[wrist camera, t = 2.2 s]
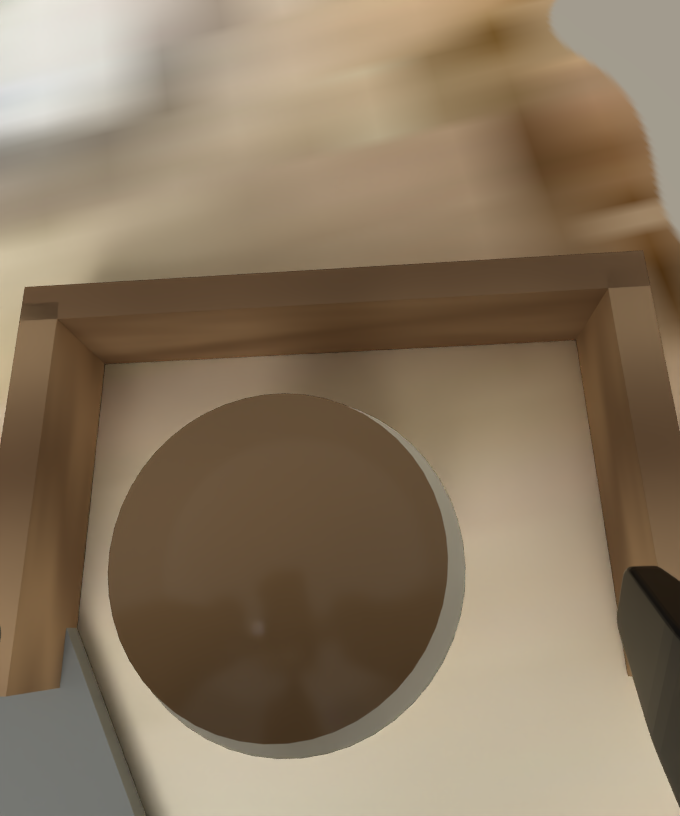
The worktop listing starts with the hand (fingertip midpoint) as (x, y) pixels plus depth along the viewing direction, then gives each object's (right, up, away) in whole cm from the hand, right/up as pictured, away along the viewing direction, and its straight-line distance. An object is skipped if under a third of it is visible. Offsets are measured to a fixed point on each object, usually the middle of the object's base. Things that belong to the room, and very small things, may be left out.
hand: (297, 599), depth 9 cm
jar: (+1, -2, +8) cm, 8 cm away
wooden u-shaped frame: (+1, +1, +9) cm, 9 cm away
